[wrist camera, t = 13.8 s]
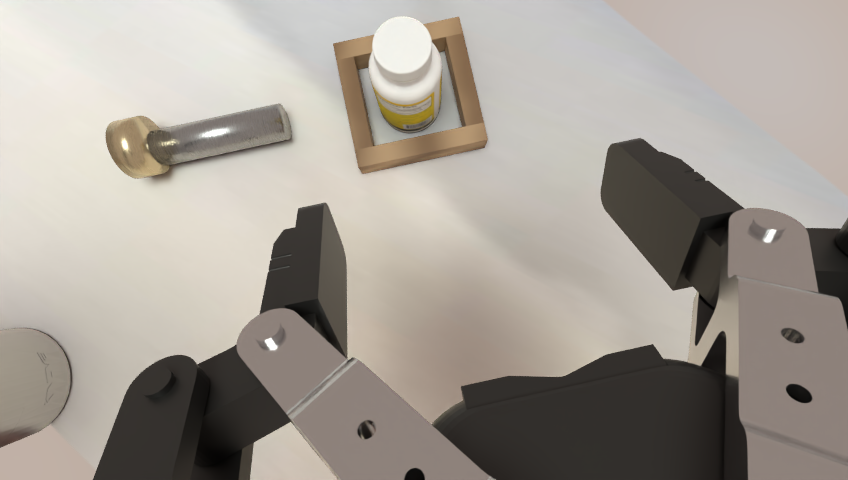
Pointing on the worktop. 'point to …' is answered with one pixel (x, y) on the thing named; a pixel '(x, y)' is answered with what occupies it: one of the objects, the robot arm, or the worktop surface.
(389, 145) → the collar block
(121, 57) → the worktop surface
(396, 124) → the supplement bottle
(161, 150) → the shaft
